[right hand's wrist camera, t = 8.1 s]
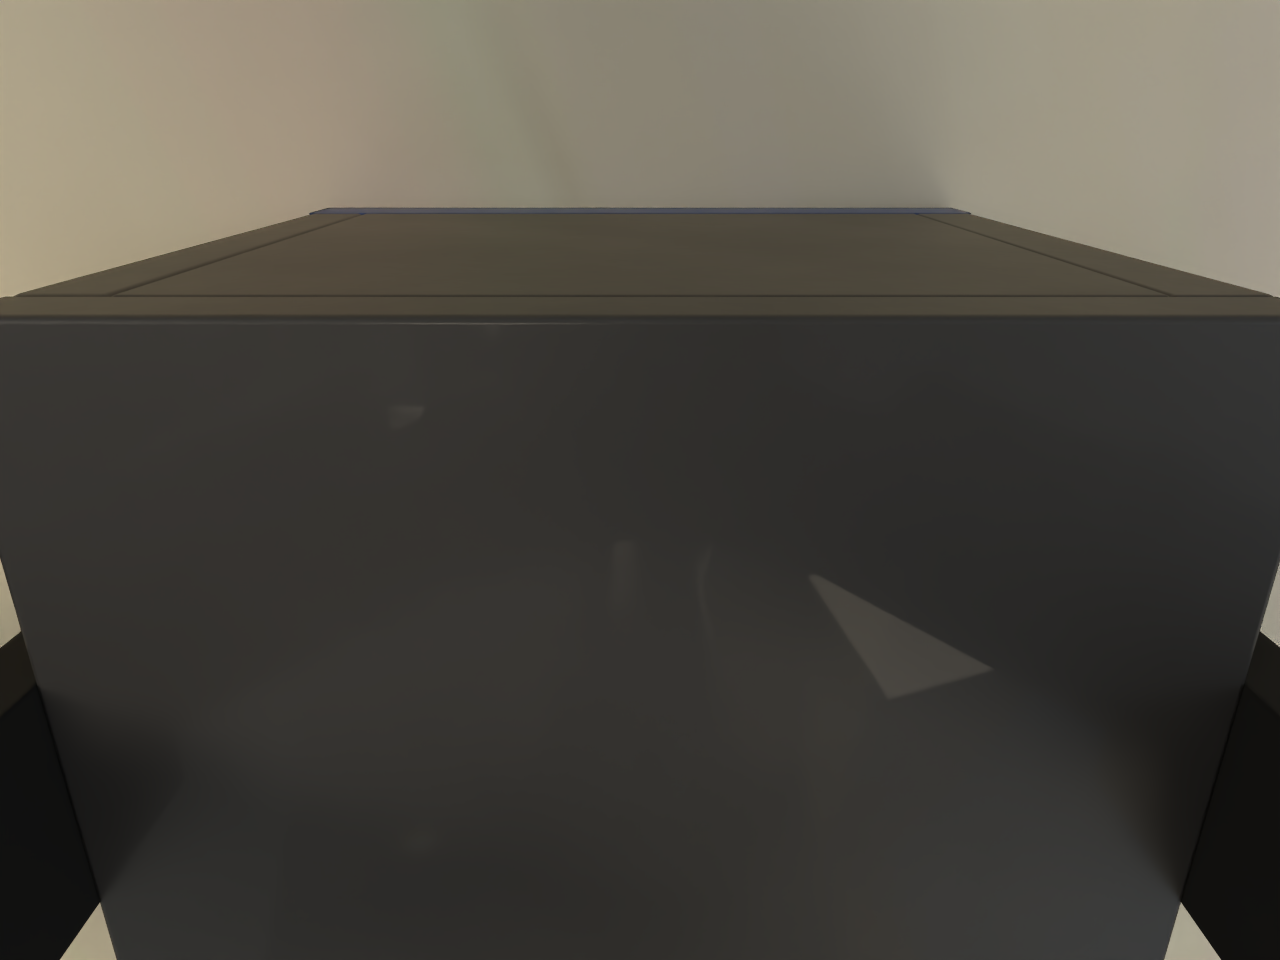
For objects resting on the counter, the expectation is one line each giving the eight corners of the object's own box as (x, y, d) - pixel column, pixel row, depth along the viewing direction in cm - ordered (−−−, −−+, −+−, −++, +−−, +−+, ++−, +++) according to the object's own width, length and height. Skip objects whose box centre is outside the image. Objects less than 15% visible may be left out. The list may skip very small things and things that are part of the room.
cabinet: (864, 925, 23) (1017, 1472, 14) (415, 925, 23) (262, 1472, 14) (952, 208, 16) (1357, 315, 7) (328, 208, 16) (-77, 314, 7)
